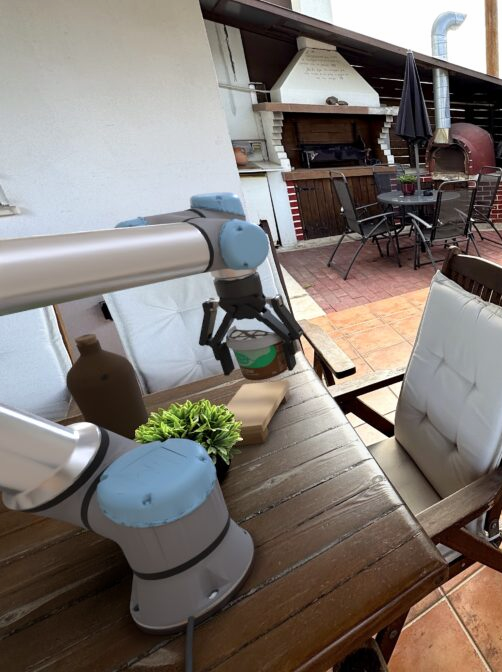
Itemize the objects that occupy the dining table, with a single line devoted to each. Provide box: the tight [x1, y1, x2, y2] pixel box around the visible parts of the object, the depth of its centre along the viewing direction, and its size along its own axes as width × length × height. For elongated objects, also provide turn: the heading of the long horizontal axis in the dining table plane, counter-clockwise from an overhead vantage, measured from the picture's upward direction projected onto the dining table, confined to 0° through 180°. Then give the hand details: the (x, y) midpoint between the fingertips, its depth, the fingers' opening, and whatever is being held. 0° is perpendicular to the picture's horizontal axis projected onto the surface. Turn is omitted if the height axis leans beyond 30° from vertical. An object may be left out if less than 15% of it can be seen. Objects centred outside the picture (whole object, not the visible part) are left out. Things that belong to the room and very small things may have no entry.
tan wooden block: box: [225, 379, 291, 447], centre depth 97 cm, size 18×11×5 cm, turn 10°
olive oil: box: [65, 333, 150, 440], centre depth 90 cm, size 11×11×25 cm
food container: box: [225, 325, 288, 381], centre depth 84 cm, size 12×6×10 cm, turn 81°
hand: (261, 369), depth 85 cm, fingers closed on food container, 12 cm apart
